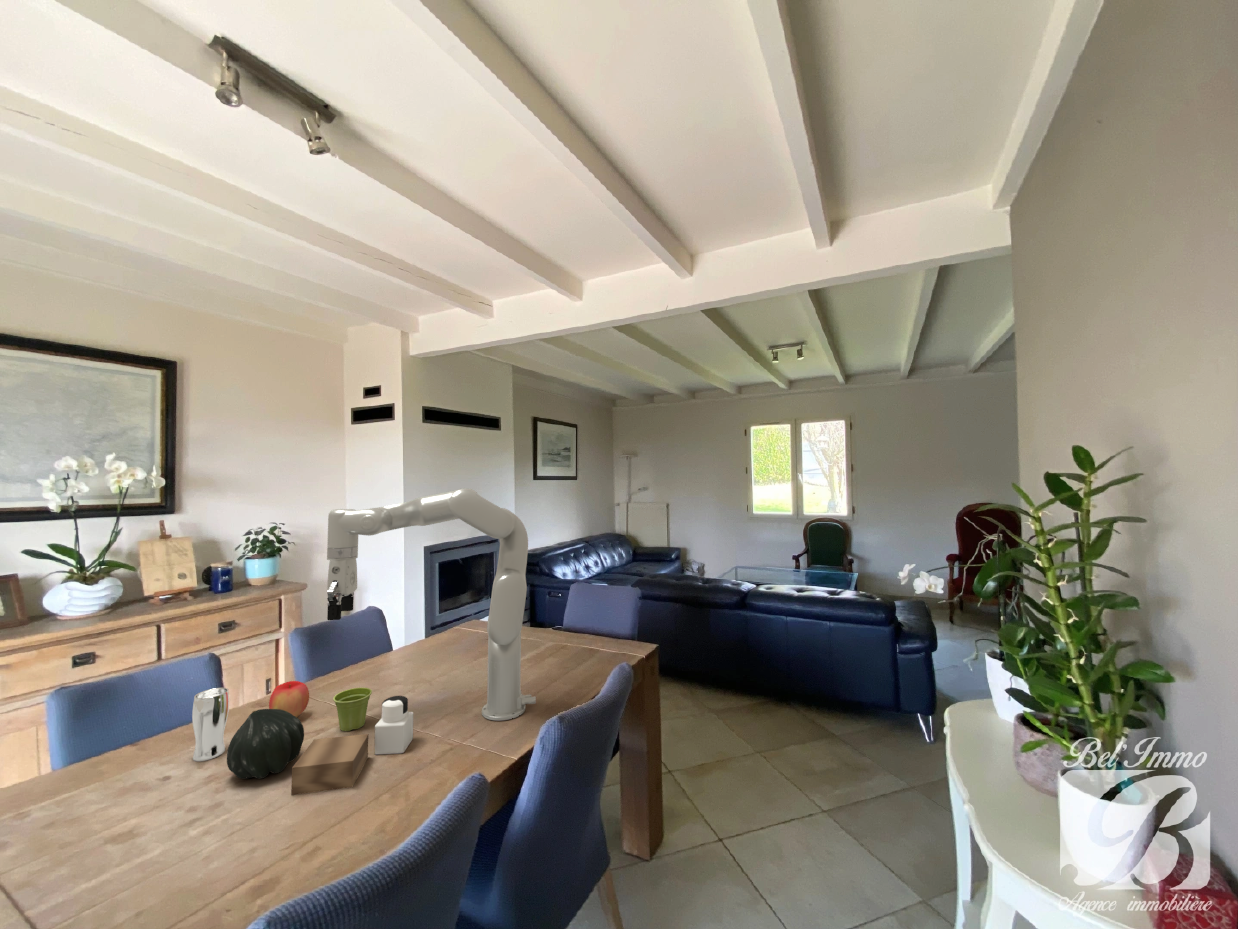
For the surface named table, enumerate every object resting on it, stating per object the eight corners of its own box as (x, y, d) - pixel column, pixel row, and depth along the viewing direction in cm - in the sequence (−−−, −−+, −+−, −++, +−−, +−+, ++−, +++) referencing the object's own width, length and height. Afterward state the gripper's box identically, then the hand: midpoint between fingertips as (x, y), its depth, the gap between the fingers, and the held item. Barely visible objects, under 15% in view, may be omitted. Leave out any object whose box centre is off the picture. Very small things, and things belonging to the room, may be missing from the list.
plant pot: (354, 736, 127) (355, 703, 128) (324, 733, 129) (325, 700, 130) (378, 720, 137) (379, 688, 137) (350, 716, 138) (350, 686, 139)
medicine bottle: (385, 740, 125) (386, 693, 126) (413, 739, 126) (414, 692, 127) (373, 755, 118) (374, 705, 119) (403, 753, 119) (404, 704, 120)
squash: (326, 726, 122) (283, 684, 120) (297, 761, 107) (248, 714, 106) (280, 767, 120) (236, 726, 118) (244, 809, 105) (193, 762, 104)
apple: (260, 723, 135) (262, 687, 135) (296, 709, 143) (297, 675, 144) (279, 731, 130) (281, 693, 131) (315, 716, 139) (316, 681, 139)
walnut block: (367, 758, 117) (368, 733, 118) (352, 788, 106) (353, 760, 106) (313, 765, 115) (314, 739, 115) (291, 796, 103) (292, 767, 103)
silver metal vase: (233, 750, 121) (236, 689, 122) (202, 765, 114) (204, 700, 115) (215, 745, 123) (217, 685, 124) (183, 759, 117) (186, 696, 117)
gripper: (346, 557, 127) (344, 622, 126) (366, 549, 143) (365, 607, 143) (315, 558, 125) (312, 624, 124) (339, 549, 142) (337, 608, 141)
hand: (340, 615), depth 133 cm, fingers open, 9 cm apart
